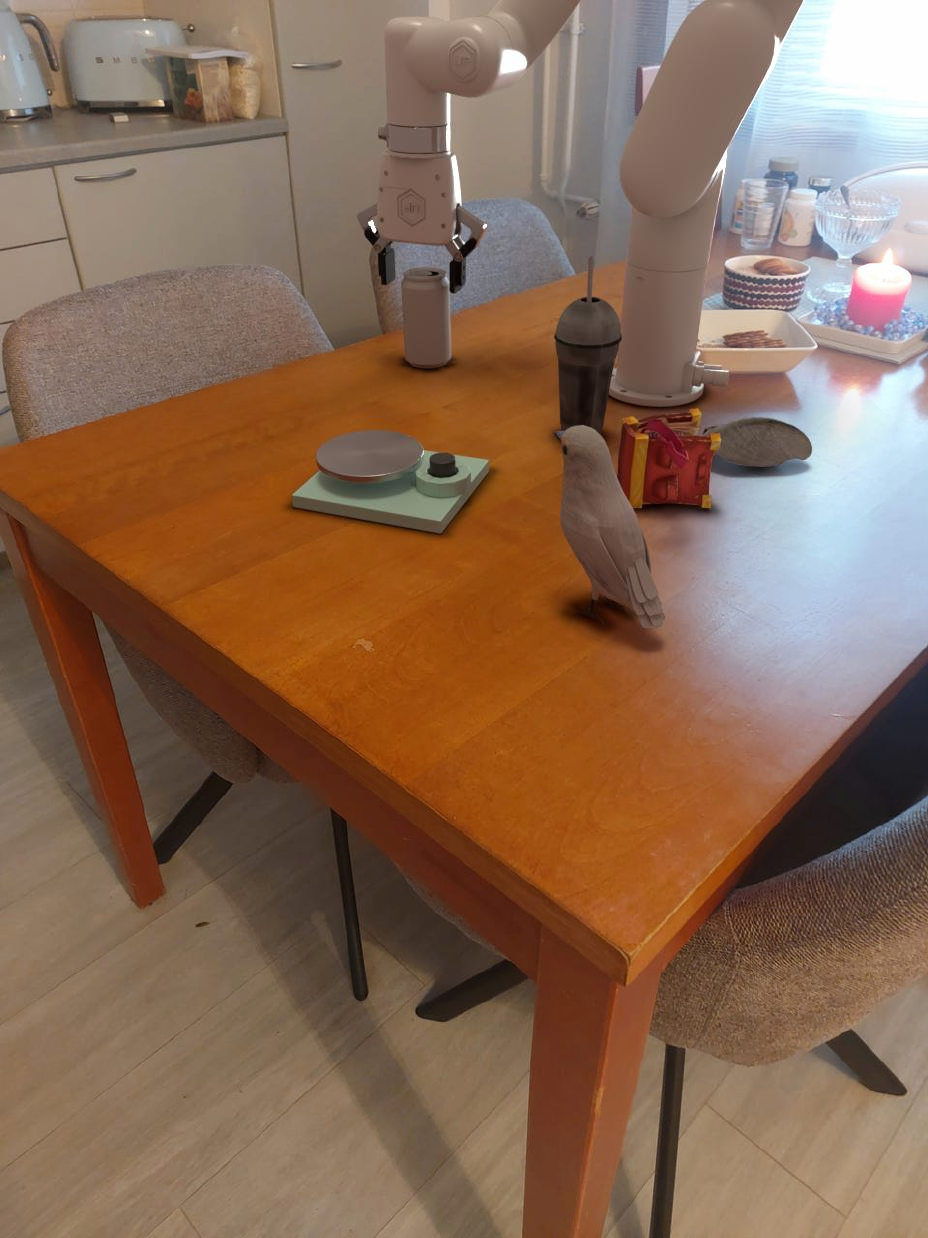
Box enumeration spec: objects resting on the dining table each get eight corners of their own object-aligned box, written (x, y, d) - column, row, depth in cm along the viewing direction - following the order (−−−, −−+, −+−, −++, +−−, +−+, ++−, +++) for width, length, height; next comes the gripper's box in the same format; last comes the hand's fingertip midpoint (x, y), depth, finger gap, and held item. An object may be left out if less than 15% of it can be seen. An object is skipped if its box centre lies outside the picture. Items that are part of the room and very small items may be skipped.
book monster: (698, 477, 93) (720, 541, 84) (611, 479, 94) (624, 543, 85) (712, 381, 87) (738, 440, 77) (618, 383, 87) (633, 442, 78)
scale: (491, 472, 95) (491, 446, 94) (443, 534, 85) (442, 506, 83) (354, 450, 100) (352, 425, 98) (293, 507, 90) (289, 480, 88)
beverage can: (450, 370, 120) (448, 278, 113) (403, 370, 121) (398, 278, 114) (452, 354, 126) (450, 265, 119) (406, 354, 126) (402, 265, 119)
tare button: (459, 470, 90) (459, 454, 89) (450, 481, 88) (449, 465, 87) (435, 466, 91) (435, 450, 90) (425, 477, 89) (425, 461, 88)
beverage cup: (618, 427, 104) (635, 247, 93) (605, 453, 99) (622, 265, 87) (557, 420, 106) (567, 243, 95) (542, 445, 101) (550, 260, 89)
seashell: (800, 446, 100) (810, 403, 97) (814, 479, 93) (825, 435, 90) (692, 441, 101) (698, 399, 98) (698, 474, 94) (705, 430, 91)
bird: (567, 564, 80) (577, 405, 72) (678, 636, 71) (706, 464, 63) (525, 582, 78) (530, 420, 69) (634, 658, 69) (656, 484, 60)
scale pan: (440, 444, 94) (439, 437, 94) (397, 490, 86) (397, 483, 85) (346, 430, 97) (345, 424, 97) (296, 473, 89) (295, 466, 88)
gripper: (340, 140, 107) (350, 287, 117) (476, 149, 102) (473, 302, 112) (367, 131, 112) (374, 272, 123) (497, 140, 108) (493, 286, 118)
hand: (421, 286), depth 117 cm, fingers open, 9 cm apart
